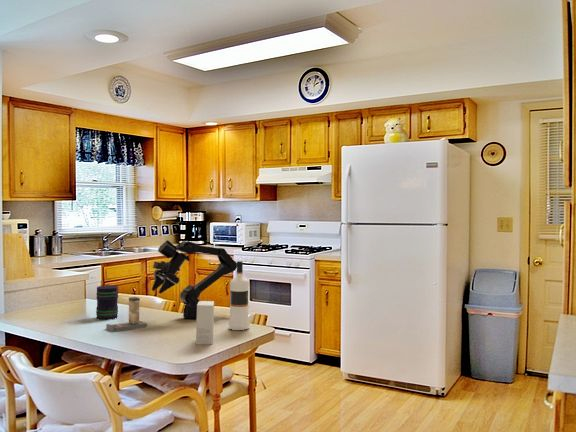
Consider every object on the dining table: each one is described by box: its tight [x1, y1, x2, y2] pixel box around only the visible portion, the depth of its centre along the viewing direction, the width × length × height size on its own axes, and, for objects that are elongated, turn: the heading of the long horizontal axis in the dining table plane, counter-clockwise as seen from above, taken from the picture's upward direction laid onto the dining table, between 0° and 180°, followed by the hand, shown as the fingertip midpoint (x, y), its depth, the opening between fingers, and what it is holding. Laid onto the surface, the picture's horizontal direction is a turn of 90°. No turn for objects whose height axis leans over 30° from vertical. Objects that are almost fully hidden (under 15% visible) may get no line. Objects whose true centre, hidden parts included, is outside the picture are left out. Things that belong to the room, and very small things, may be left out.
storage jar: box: [95, 285, 119, 321], centre depth 236 cm, size 10×10×15 cm
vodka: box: [228, 260, 250, 331], centre depth 217 cm, size 9×9×30 cm
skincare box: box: [195, 300, 215, 346], centre depth 194 cm, size 8×7×16 cm
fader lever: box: [128, 296, 141, 324], centre depth 218 cm, size 3×4×11 cm
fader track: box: [105, 320, 148, 333], centre depth 216 cm, size 16×7×2 cm, turn 133°
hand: (155, 291), depth 228 cm, fingers open, 9 cm apart
